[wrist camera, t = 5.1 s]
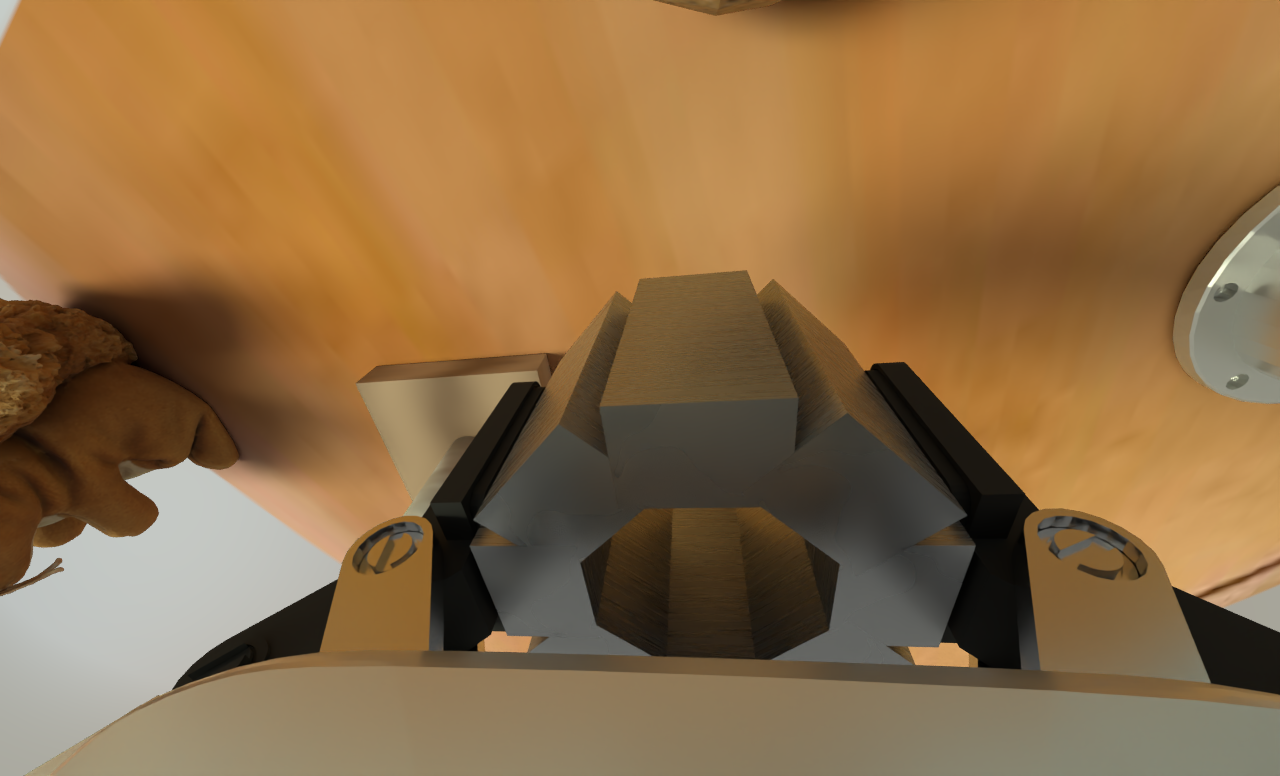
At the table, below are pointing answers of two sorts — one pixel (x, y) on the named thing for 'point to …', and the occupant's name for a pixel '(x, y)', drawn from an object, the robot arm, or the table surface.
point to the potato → (720, 5)
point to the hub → (719, 493)
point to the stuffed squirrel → (84, 433)
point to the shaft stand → (439, 412)
